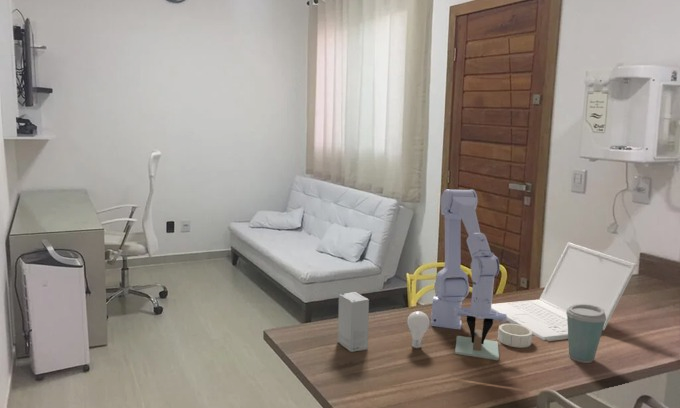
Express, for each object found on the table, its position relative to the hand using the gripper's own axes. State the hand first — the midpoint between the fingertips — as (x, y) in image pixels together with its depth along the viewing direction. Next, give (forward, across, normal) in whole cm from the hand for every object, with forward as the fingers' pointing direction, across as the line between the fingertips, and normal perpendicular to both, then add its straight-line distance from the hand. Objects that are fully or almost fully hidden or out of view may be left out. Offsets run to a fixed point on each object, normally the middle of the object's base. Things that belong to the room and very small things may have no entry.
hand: (477, 342), depth 165 cm
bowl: (+2, +11, +10) cm, 15 cm away
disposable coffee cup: (+3, +29, +5) cm, 30 cm away
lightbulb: (+3, -17, -5) cm, 18 cm away
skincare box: (+3, -35, -10) cm, 36 cm away
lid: (+2, 0, 0) cm, 2 cm away
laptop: (+3, +26, +36) cm, 44 cm away
